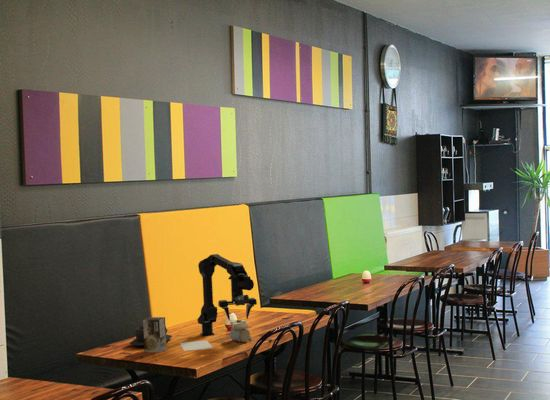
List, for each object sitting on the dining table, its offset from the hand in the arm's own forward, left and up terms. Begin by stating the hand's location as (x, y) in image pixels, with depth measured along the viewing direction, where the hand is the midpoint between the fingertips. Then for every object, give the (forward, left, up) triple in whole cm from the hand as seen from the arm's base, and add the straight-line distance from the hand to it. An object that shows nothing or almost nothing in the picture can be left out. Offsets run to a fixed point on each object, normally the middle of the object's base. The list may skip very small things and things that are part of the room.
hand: (238, 319), depth 372 cm
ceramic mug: (-1, +2, -12) cm, 12 cm away
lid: (0, 0, -4) cm, 4 cm away
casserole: (-15, -42, -12) cm, 46 cm away
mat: (+2, -22, -11) cm, 25 cm away
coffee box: (+4, -42, -11) cm, 44 cm away
